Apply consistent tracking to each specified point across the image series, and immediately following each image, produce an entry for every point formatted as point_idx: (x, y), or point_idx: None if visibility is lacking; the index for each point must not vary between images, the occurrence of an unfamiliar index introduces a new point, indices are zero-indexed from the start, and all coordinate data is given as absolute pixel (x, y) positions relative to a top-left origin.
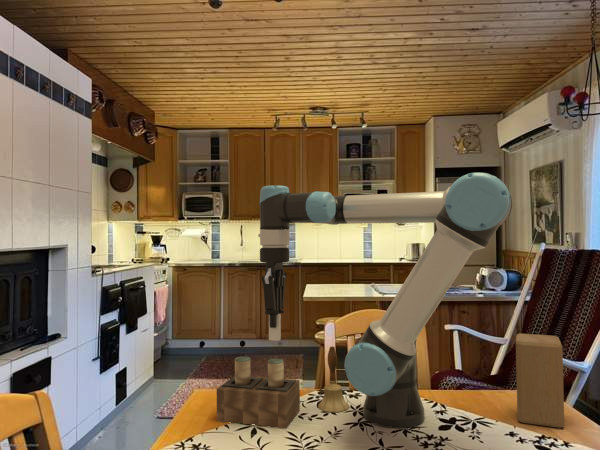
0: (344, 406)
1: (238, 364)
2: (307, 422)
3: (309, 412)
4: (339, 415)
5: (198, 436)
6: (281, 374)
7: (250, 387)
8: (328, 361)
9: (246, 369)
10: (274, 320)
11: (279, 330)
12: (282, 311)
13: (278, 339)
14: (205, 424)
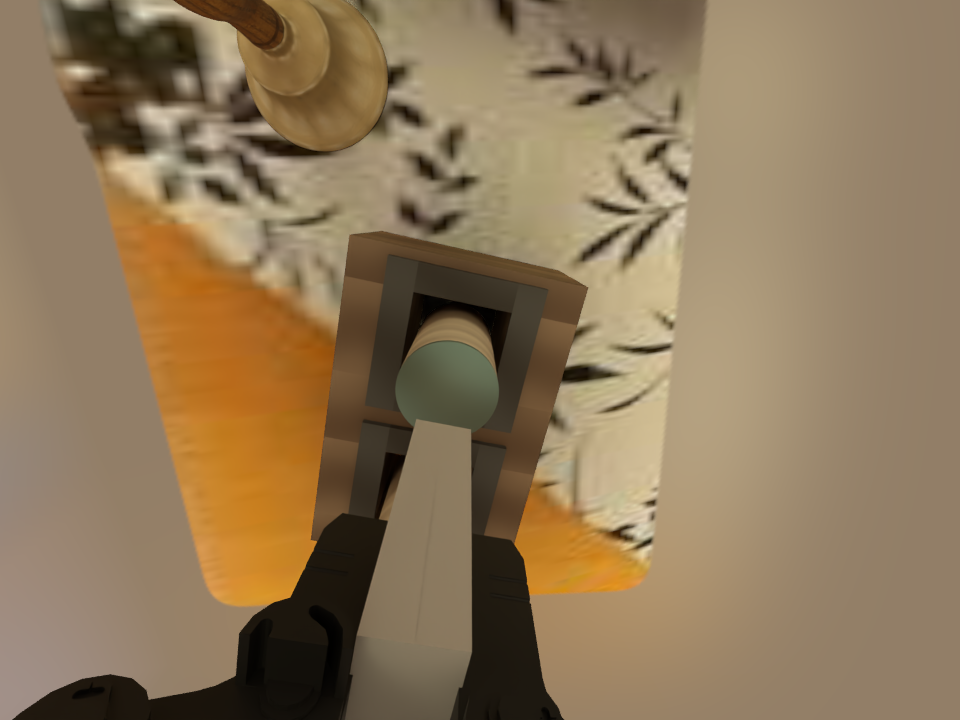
0: (347, 11)
1: None
2: (498, 193)
3: (394, 189)
4: (418, 48)
5: (604, 517)
6: (477, 333)
7: (504, 453)
8: (222, 3)
9: None
10: (529, 627)
11: (452, 477)
12: (350, 653)
13: (469, 439)
14: None
